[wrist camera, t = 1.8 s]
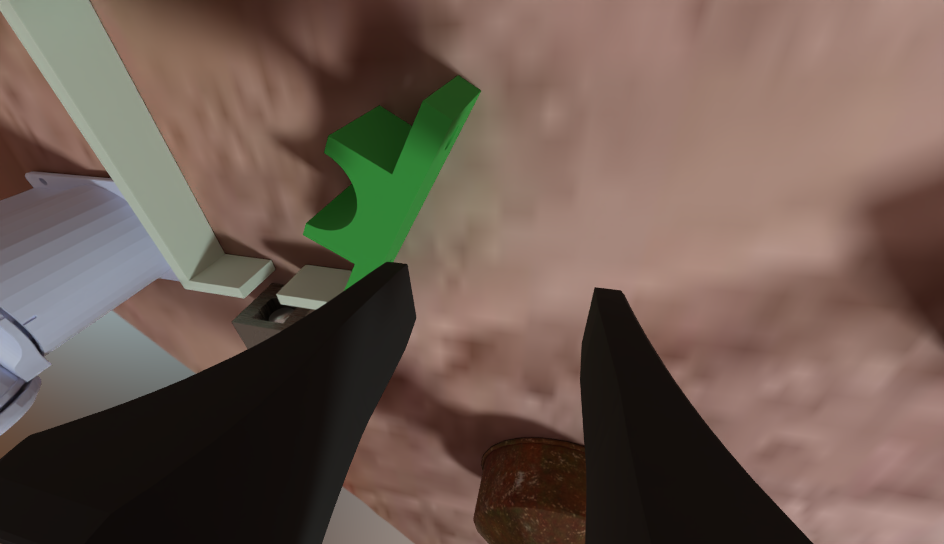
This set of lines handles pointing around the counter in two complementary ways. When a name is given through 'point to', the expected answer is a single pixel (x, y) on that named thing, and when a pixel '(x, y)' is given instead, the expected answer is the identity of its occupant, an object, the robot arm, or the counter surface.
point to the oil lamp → (532, 493)
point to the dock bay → (144, 153)
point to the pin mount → (265, 317)
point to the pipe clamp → (388, 176)
